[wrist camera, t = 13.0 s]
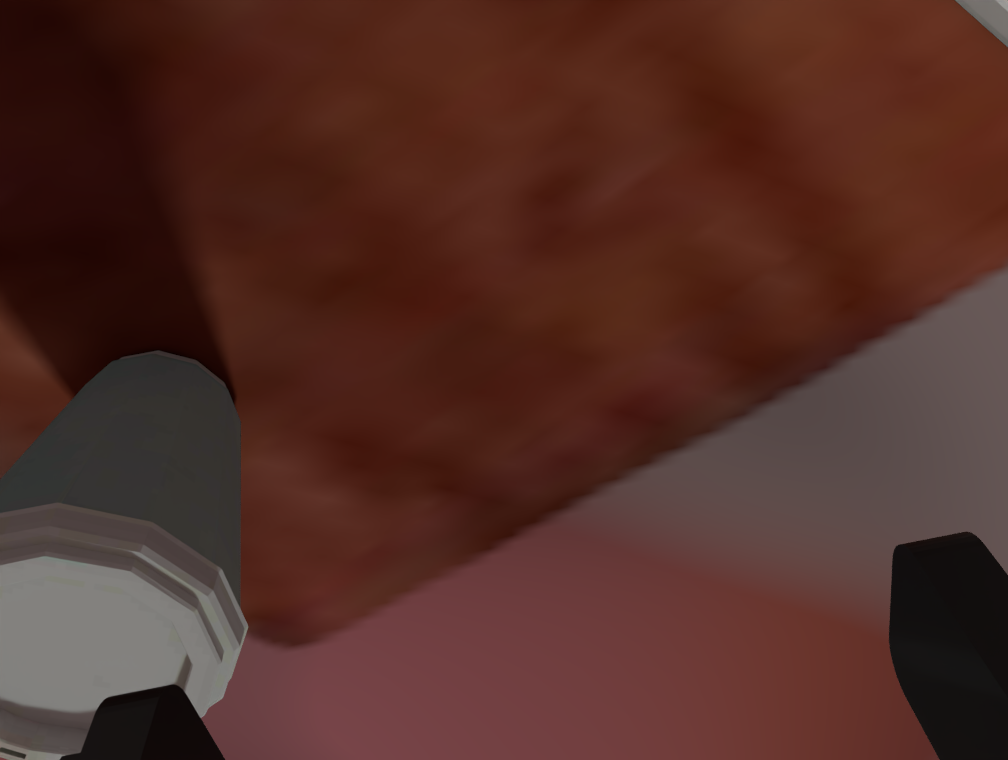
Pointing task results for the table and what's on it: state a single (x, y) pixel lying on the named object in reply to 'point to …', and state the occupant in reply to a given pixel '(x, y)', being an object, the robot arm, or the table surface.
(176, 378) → the disposable coffee cup
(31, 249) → the table surface
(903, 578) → the robot arm
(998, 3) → the walled tray
